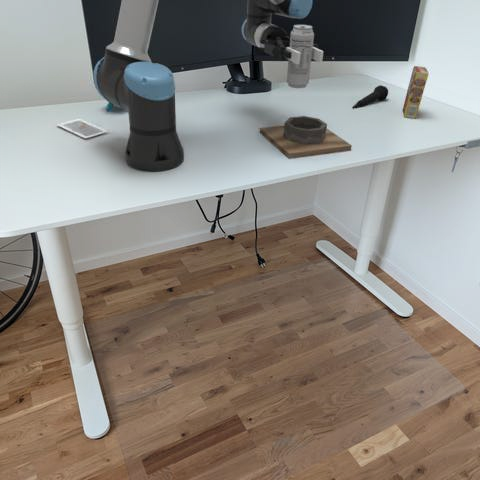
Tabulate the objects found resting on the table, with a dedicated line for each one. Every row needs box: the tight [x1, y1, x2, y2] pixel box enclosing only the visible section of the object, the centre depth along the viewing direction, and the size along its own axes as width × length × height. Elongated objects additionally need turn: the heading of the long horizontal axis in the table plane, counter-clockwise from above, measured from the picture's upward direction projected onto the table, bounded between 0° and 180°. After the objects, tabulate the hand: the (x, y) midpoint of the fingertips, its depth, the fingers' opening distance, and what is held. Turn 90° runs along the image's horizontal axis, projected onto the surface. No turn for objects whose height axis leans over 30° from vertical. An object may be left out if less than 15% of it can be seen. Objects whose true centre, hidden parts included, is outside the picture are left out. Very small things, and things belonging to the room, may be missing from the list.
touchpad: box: [56, 118, 109, 139], centre depth 136 cm, size 8×15×2 cm, turn 49°
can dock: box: [259, 115, 352, 159], centre depth 135 cm, size 20×20×6 cm
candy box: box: [402, 65, 429, 119], centre depth 156 cm, size 9×4×15 cm, turn 167°
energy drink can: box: [286, 24, 315, 89], centre depth 122 cm, size 6×6×15 cm
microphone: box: [352, 84, 389, 109], centre depth 168 cm, size 6×6×20 cm
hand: (310, 57), depth 117 cm, fingers closed on energy drink can, 6 cm apart
